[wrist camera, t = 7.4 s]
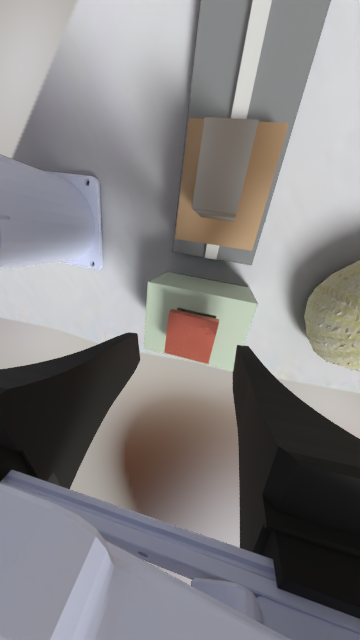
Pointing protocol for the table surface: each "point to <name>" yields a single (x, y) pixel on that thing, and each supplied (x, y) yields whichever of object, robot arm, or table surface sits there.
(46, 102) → the table surface
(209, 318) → the button
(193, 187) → the carriage
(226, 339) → the pale green block
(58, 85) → the table surface
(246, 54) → the track
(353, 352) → the sea urchin shell
